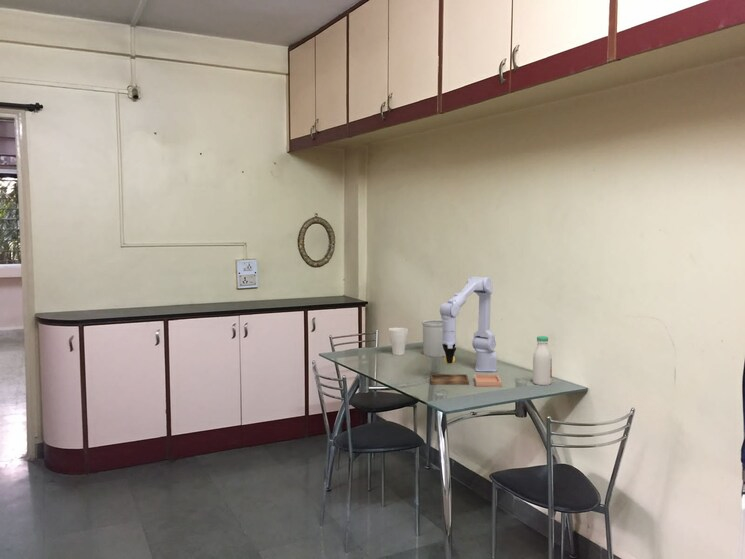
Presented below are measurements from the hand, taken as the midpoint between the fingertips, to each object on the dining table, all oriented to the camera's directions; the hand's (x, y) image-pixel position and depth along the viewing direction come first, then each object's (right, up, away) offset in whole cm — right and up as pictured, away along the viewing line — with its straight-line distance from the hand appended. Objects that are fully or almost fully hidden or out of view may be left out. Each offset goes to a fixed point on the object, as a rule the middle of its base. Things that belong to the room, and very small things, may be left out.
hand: (449, 361), depth 268 cm
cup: (-20, -4, +58) cm, 62 cm away
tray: (0, -8, +1) cm, 8 cm away
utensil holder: (0, -4, +57) cm, 57 cm away
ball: (0, +1, 0) cm, 1 cm away
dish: (+16, -9, -3) cm, 18 cm away
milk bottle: (+39, -9, -5) cm, 40 cm away
